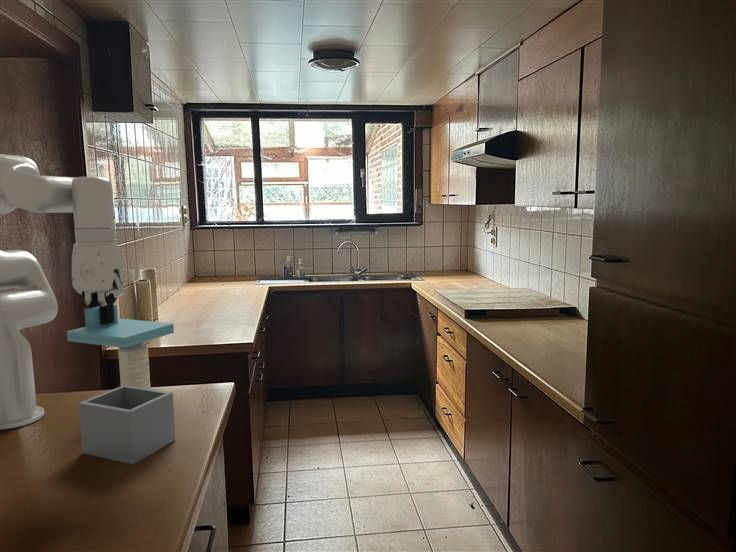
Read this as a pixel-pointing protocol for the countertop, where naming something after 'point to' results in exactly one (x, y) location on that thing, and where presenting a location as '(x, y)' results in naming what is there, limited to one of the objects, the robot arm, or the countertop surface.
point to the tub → (127, 423)
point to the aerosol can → (134, 366)
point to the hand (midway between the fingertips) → (102, 322)
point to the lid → (117, 330)
